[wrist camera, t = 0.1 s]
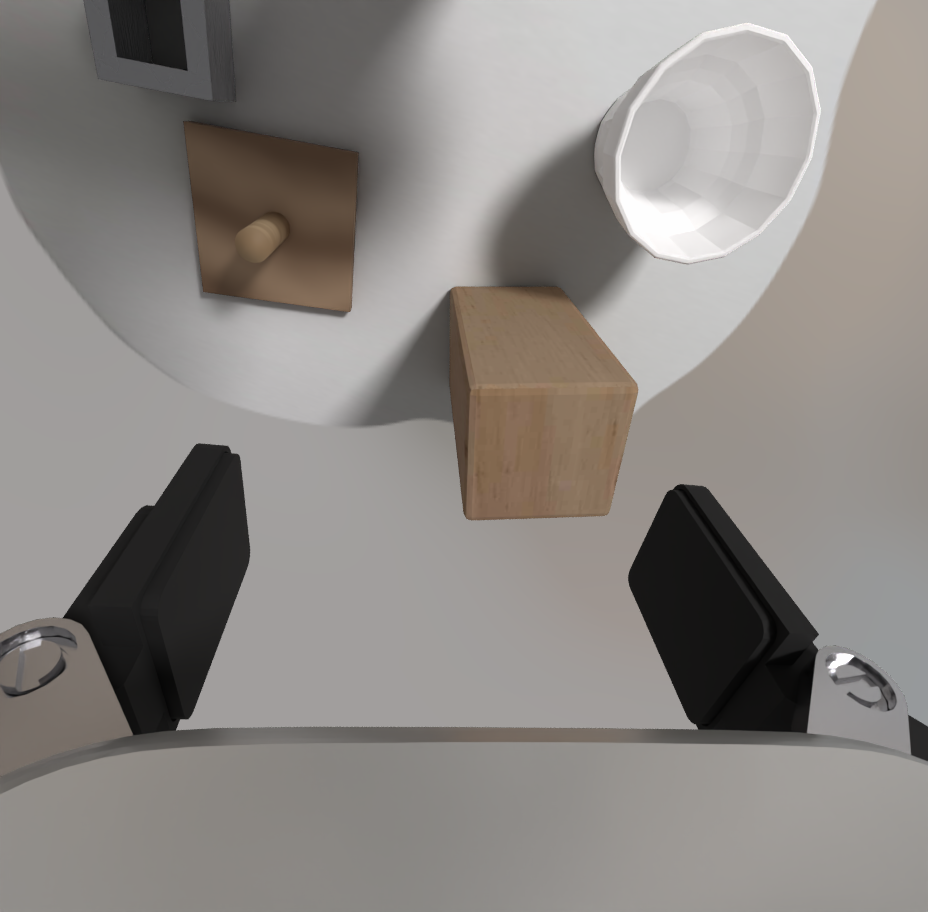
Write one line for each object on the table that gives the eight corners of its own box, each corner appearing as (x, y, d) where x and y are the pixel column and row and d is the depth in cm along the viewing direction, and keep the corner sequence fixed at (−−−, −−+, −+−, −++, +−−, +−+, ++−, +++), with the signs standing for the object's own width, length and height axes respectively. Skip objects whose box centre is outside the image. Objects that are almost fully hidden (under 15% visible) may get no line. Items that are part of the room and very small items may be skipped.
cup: (749, 46, 36) (859, 24, 27) (701, 232, 43) (776, 264, 34) (579, 42, 36) (635, 19, 27) (559, 232, 43) (597, 265, 34)
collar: (115, -48, 31) (70, -71, 27) (227, -22, 32) (200, -41, 28) (135, 82, 35) (98, 79, 31) (236, 102, 36) (212, 100, 32)
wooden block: (449, 387, 50) (464, 523, 34) (449, 285, 44) (467, 388, 28) (548, 386, 51) (610, 518, 34) (561, 284, 45) (643, 385, 29)
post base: (189, 121, 37) (139, 123, 30) (358, 152, 38) (346, 161, 32) (208, 287, 43) (170, 319, 36) (351, 307, 45) (340, 341, 38)
